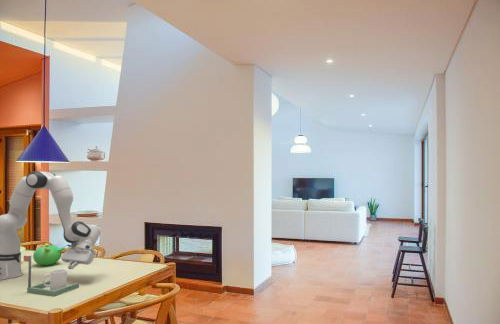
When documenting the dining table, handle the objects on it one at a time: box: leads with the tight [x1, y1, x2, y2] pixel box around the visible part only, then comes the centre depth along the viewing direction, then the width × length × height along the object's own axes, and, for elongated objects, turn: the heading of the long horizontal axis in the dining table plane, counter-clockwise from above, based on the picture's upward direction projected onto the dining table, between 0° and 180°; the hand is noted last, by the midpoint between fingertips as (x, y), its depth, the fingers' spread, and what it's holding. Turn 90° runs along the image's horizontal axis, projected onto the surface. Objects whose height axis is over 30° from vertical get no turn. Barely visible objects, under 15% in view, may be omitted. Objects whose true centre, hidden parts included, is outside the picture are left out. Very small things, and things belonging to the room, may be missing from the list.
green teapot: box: [32, 242, 67, 266], centre depth 281 cm, size 18×17×15 cm
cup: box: [42, 268, 68, 290], centre depth 223 cm, size 8×12×10 cm
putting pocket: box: [23, 255, 80, 297], centre depth 223 cm, size 18×23×20 cm
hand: (70, 268), depth 234 cm, fingers closed
